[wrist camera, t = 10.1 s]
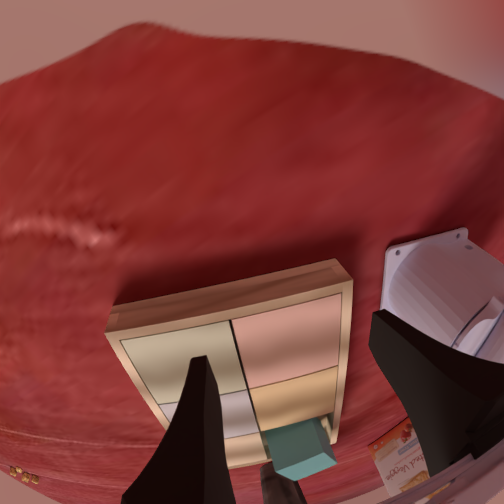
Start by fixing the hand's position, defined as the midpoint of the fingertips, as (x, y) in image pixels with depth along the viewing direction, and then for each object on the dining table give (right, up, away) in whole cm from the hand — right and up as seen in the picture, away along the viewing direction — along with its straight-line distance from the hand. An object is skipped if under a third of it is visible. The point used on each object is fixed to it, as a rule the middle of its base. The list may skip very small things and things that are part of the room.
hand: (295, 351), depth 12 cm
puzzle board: (-2, -9, +15) cm, 17 cm away
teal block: (+3, -14, +17) cm, 23 cm away
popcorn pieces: (-45, -37, +22) cm, 62 cm away
